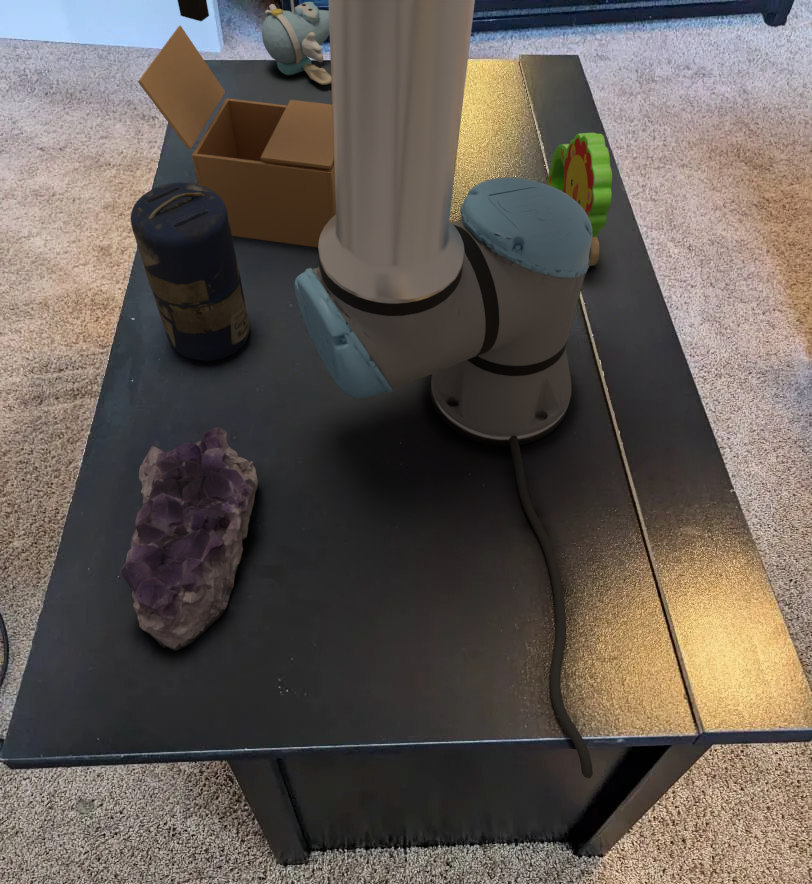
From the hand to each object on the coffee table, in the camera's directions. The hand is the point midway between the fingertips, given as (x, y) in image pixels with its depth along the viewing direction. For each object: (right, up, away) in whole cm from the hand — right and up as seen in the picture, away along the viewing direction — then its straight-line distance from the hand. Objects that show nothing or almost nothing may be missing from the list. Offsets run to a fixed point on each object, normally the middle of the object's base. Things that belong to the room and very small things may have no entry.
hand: (194, 15), depth 83 cm
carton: (+7, -13, +18) cm, 24 cm away
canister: (0, -34, +5) cm, 34 cm away
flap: (-3, -4, +7) cm, 8 cm away
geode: (+3, -59, -10) cm, 60 cm away
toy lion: (+44, -19, +15) cm, 50 cm away
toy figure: (+2, +18, +32) cm, 37 cm away
